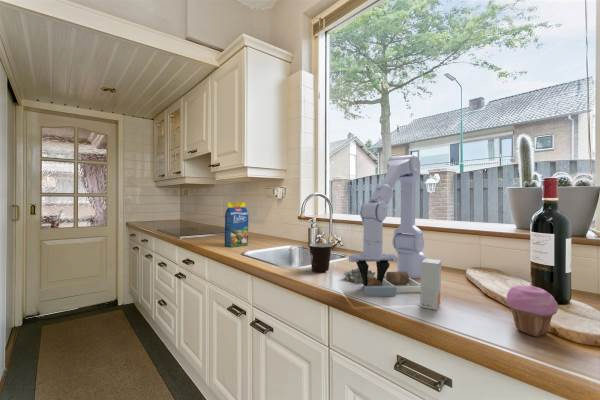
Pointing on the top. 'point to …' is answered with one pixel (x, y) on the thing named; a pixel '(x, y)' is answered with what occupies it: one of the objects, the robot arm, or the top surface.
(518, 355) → the top surface
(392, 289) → the block
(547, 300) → the cupcake
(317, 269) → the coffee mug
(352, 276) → the gravel pile
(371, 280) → the loose roller
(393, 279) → the racked roller
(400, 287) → the white shallow tray
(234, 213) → the blue food package
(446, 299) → the top surface
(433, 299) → the skincare box
